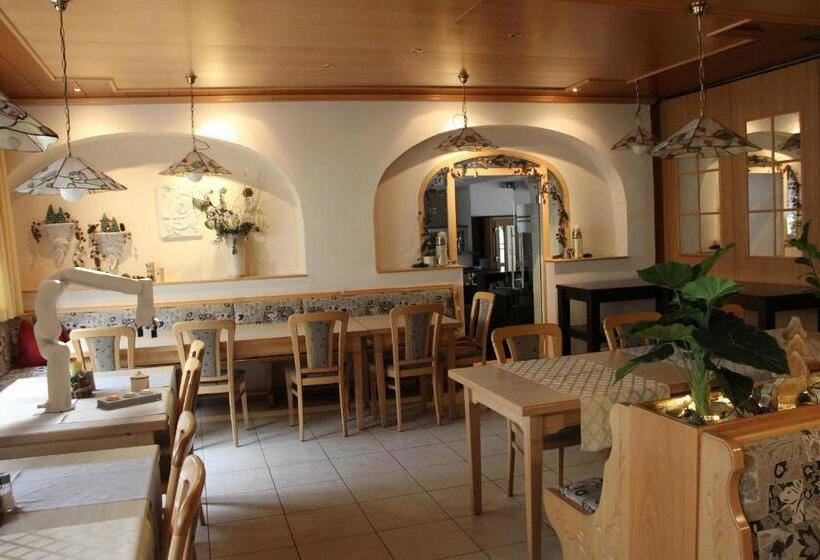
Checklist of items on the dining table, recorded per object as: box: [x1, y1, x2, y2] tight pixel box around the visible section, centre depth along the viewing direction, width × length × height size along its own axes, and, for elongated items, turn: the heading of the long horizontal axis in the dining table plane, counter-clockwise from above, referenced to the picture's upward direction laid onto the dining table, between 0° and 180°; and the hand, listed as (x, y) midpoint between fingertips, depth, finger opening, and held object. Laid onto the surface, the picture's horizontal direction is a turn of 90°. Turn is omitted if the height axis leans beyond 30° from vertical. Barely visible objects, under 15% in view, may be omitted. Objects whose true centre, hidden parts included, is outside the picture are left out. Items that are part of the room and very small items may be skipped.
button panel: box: [96, 389, 163, 411], centre depth 332 cm, size 26×12×3 cm, turn 137°
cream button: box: [140, 388, 152, 395], centre depth 338 cm, size 5×5×3 cm
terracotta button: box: [106, 394, 120, 401], centre depth 326 cm, size 5×5×3 cm
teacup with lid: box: [129, 370, 150, 393], centre depth 353 cm, size 12×9×12 cm
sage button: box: [123, 391, 136, 398], centre depth 332 cm, size 5×5×3 cm
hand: (147, 337), depth 349 cm, fingers open, 9 cm apart
